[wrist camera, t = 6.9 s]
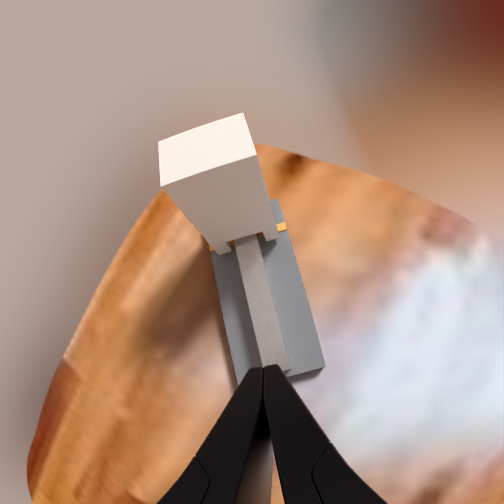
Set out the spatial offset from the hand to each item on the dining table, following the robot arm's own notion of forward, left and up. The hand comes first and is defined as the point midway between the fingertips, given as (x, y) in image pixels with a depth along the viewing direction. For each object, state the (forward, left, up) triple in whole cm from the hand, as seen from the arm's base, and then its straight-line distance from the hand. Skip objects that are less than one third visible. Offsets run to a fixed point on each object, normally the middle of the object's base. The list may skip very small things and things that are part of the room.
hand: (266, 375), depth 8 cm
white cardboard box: (+8, +7, -11) cm, 15 cm away
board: (+4, +4, -13) cm, 14 cm away
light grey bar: (+4, +4, -13) cm, 14 cm away
